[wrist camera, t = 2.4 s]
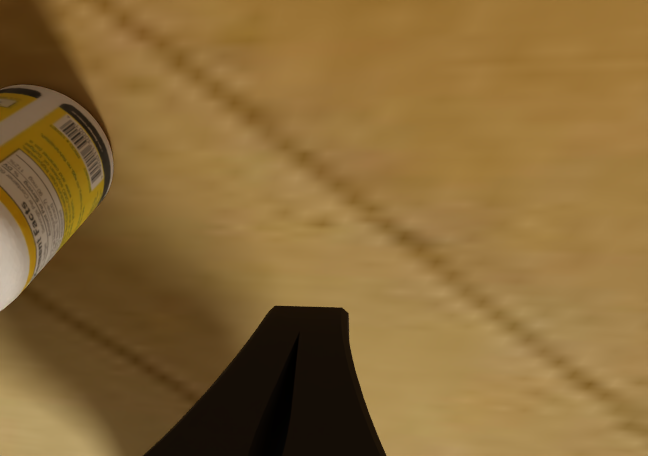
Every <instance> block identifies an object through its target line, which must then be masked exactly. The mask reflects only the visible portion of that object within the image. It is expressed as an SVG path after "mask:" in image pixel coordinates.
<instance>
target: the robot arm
mask: <svg viewBox="0 0 648 456" xmlns="http://www.w3.org/2000/svg"><path fill="white" fill-rule="evenodd" d="M143 456H386V454H385V451H384V449H383V447H382V445H381V442H380V440H379V437H378V435H377V433H376V430H375V427H374V425H373V422H372V420H371V417H370V415H369V412H368V409H367V406H366V403H365V400H364V398H363V394H362V391H361V388H360V384H359V381H358V378H357V374H356V371H355V367H354V363H353V359H352V354H351V349H350V344H349V315H348V313H347V312H346V311H345V310H344V309H343V308H334V307H299V306H274V307H273V308H272V309H271V310H270V311H269V312H268V314H267V315H266V316H265V318H264V319H263V321H262V322H261V324H260V325H259V326H258V328H257V329H256V331H255V332H254V333H253V335H252V336H251V337H250V339H249V340H248V341H247V343H246V344H245V345H244V347H243V348H242V349H241V350H240V352H239V353H238V354H237V356H236V357H235V358H234V359H233V361H232V362H231V363H230V364H229V365H228V367H227V368H226V369H225V370H224V371H223V373H222V374H221V375H220V376H219V378H218V379H217V380H216V381H215V382H214V384H213V385H212V386H211V387H210V388H209V389H208V390H207V392H206V393H205V394H204V395H203V396H202V397H201V398H200V399H199V400H198V401H197V402H196V403H195V405H194V406H193V407H192V408H191V409H190V410H189V411H188V412H187V413H186V414H185V415H184V416H183V418H182V419H181V420H180V421H179V422H178V423H177V424H176V425H175V426H174V427H173V428H172V429H171V430H170V431H169V432H168V433H167V434H166V435H165V436H164V437H163V438H162V439H161V440H160V441H159V442H157V443H156V444H155V445H154V446H153V447H152V448H151V449H150V450H149V451H148V452H147V453H146V454H144V455H143Z"/></svg>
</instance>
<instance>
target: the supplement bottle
mask: <svg viewBox="0 0 648 456" xmlns="http://www.w3.org/2000/svg"><path fill="white" fill-rule="evenodd" d="M112 177H113V156H112V151H111V148H110V145H109V142H108V139H107V137H106V135H105V133H104V132H103V130H102V128H101V127H100V125H99V124H98V123H97V121H96V120H95V119H94V118H93V116H92V115H91V114H90V113H89V112H88V111H87V110H86V109H84V108H83V107H82V106H81V105H80V104H78V103H77V102H75V101H74V100H72V99H71V98H69V97H67V96H65V95H63V94H61V93H59V92H56V91H54V90H51V89H48V88H44V87H40V86H35V85H13V86H8V87H5V88H2V89H0V311H1V310H3V309H4V308H5V307H7V306H8V305H9V304H10V303H11V302H13V301H14V300H15V299H16V298H17V297H18V296H19V295H20V294H21V292H22V291H23V290H24V289H25V288H26V287H27V286H28V285H29V284H30V282H31V281H32V280H33V279H34V278H35V277H36V275H37V274H38V273H39V272H40V271H41V270H42V269H43V267H44V266H45V265H46V264H47V263H48V262H49V261H50V260H51V259H52V257H53V256H54V255H55V254H56V253H57V252H58V251H59V250H60V248H61V247H62V246H63V245H64V244H65V243H66V242H67V240H68V239H69V238H70V237H71V236H72V235H73V234H74V232H75V231H76V230H77V229H78V228H79V227H80V226H81V225H82V223H83V222H84V221H85V220H86V219H87V217H88V216H89V215H90V214H91V213H92V212H93V210H94V209H95V208H96V207H97V206H98V205H99V204H100V202H101V201H102V200H103V199H104V197H105V196H106V194H107V192H108V190H109V188H110V185H111V182H112Z"/></svg>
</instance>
